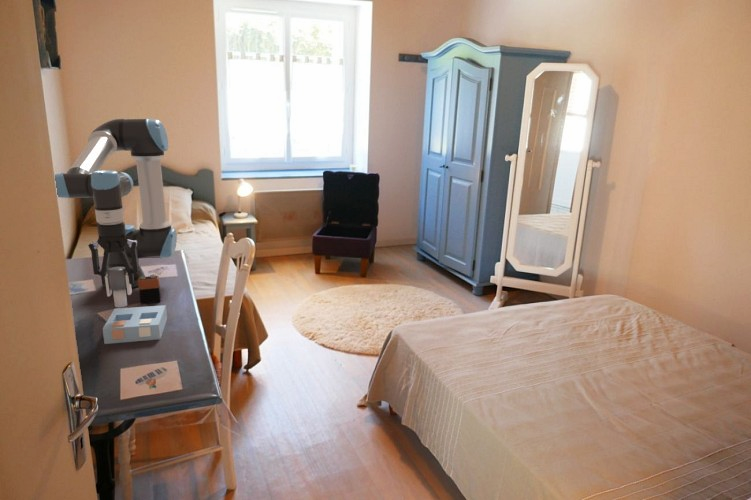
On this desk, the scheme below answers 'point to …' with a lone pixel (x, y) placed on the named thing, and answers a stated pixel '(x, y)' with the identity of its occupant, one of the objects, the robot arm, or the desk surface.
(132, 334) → the socket board
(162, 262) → the desk surface
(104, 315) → the desk surface
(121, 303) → the grey piece
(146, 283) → the battery
